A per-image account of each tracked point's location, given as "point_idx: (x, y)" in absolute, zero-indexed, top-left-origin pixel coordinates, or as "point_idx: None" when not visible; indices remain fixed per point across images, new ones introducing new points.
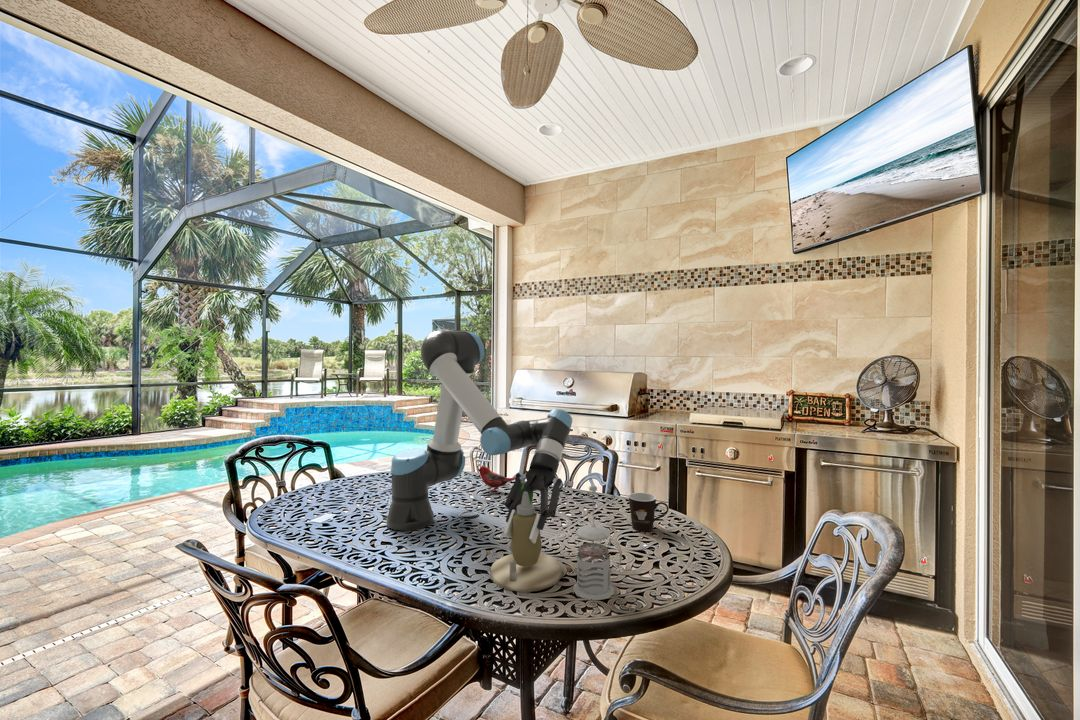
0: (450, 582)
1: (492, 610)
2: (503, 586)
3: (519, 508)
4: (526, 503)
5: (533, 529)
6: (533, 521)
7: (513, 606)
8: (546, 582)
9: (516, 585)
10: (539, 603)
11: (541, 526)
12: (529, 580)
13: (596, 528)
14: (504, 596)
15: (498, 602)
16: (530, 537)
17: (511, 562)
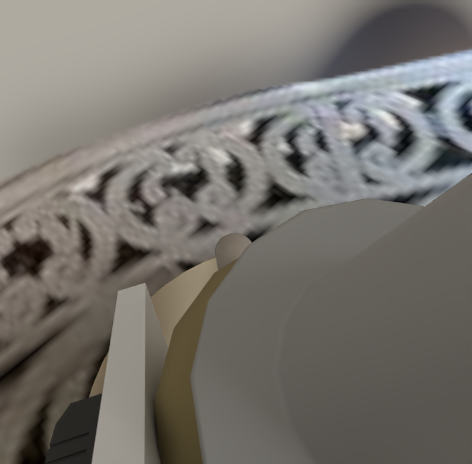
0: (439, 154)
1: (169, 145)
2: None
3: (375, 202)
4: (324, 282)
5: (126, 329)
6: (163, 374)
7: (127, 202)
8: (93, 388)
9: (191, 269)
10: (56, 277)
11: (63, 425)
12: (170, 337)
13: None
14: (203, 222)
15: (190, 185)
16: (134, 291)
17: (231, 238)
